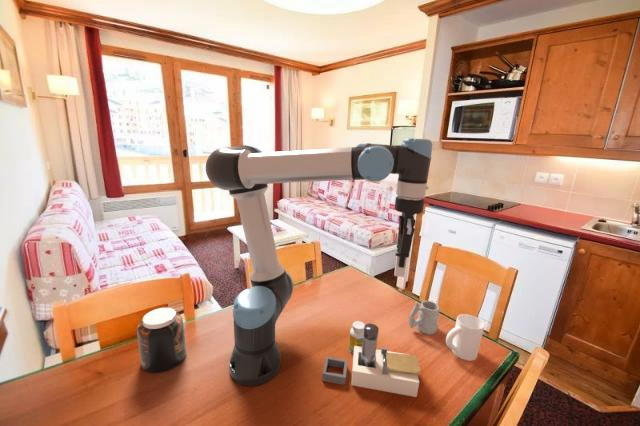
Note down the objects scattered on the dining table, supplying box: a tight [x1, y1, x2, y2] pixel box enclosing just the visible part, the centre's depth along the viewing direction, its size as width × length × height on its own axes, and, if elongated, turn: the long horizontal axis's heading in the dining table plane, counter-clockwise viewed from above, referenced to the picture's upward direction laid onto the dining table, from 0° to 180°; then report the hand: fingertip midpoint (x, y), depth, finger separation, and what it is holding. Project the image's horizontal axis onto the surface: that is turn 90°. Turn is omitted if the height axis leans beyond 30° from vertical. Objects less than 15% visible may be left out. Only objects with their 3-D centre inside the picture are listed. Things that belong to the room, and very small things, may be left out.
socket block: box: [350, 346, 420, 398], centre depth 83 cm, size 18×10×7 cm, turn 80°
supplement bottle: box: [348, 320, 366, 355], centre depth 93 cm, size 5×5×10 cm
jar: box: [136, 307, 187, 374], centre depth 84 cm, size 12×12×15 cm
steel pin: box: [360, 323, 379, 368], centre depth 82 cm, size 4×4×16 cm
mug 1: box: [408, 300, 440, 336], centre depth 104 cm, size 8×12×12 cm, turn 105°
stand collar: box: [321, 356, 348, 386], centre depth 84 cm, size 7×7×2 cm
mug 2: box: [445, 313, 485, 362], centre depth 93 cm, size 8×12×12 cm
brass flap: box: [383, 352, 421, 375], centre depth 81 cm, size 10×6×1 cm, turn 80°
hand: (399, 275), depth 83 cm, fingers closed
